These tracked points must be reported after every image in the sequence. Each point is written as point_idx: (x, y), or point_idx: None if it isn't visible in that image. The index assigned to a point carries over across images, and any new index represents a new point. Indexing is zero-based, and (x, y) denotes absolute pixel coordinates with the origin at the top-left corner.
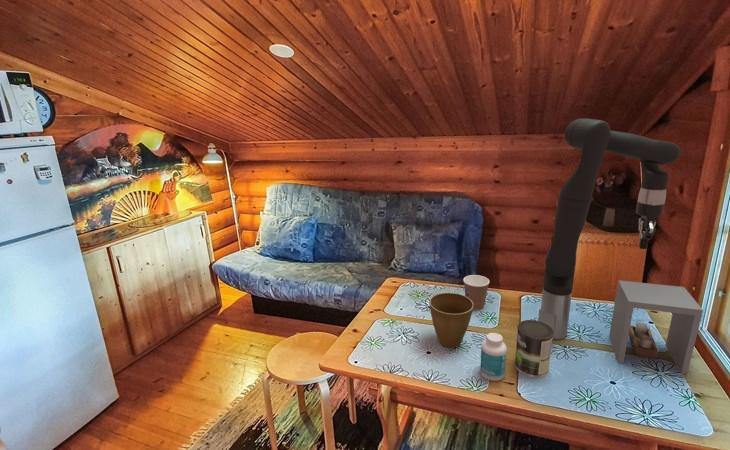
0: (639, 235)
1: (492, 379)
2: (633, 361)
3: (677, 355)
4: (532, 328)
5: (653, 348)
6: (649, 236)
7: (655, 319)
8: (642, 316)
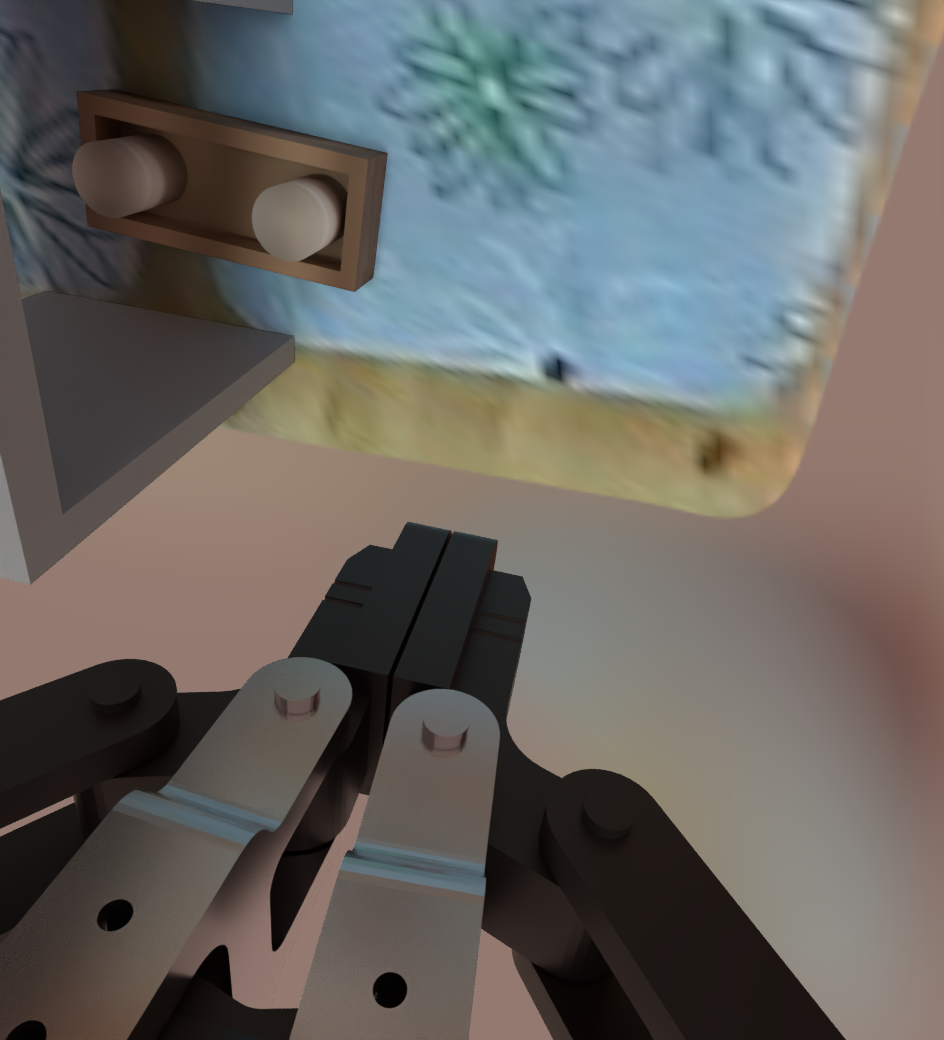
0: (445, 720)
1: None
2: (44, 56)
3: (93, 319)
4: None
5: (134, 217)
6: (78, 834)
7: (602, 417)
8: (637, 351)
